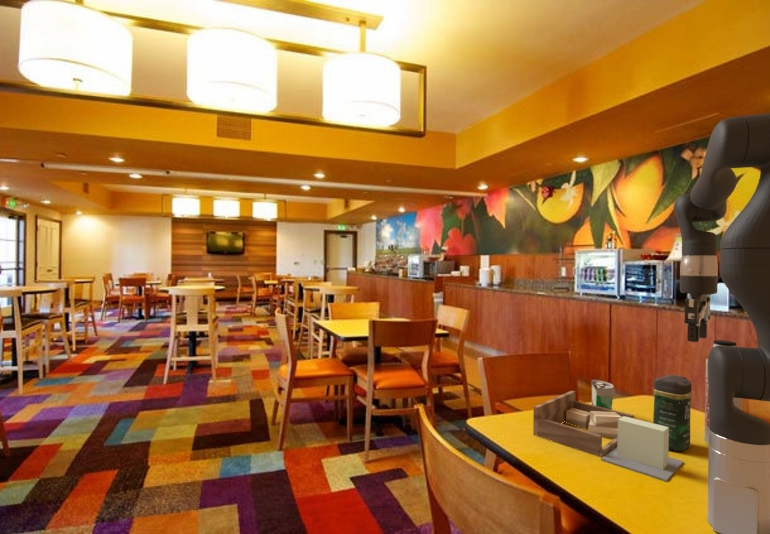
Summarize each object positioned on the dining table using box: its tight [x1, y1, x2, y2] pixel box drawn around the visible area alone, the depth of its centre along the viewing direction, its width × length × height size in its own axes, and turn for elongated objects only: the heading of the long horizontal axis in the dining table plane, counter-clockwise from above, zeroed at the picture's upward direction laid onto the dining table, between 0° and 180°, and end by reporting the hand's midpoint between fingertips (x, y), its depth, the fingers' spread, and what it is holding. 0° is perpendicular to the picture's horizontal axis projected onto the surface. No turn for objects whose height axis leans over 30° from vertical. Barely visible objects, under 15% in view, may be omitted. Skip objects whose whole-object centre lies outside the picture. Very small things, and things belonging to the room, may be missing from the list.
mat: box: [600, 447, 684, 483], centre depth 106 cm, size 14×14×1 cm
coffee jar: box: [652, 374, 693, 452], centre depth 116 cm, size 10×8×19 cm
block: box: [617, 416, 669, 470], centre depth 106 cm, size 4×10×9 cm, turn 42°
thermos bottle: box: [704, 339, 744, 445], centre depth 117 cm, size 8×8×28 cm
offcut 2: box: [590, 411, 621, 428], centre depth 123 cm, size 4×7×3 cm, turn 85°
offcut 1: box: [565, 408, 590, 430], centre depth 130 cm, size 4×6×4 cm, turn 39°
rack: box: [532, 390, 635, 458], centre depth 123 cm, size 24×19×8 cm
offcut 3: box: [588, 422, 618, 440], centre depth 123 cm, size 5×8×3 cm, turn 54°
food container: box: [591, 379, 616, 410], centre depth 138 cm, size 12×6×10 cm, turn 161°
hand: (697, 339), depth 107 cm, fingers open, 8 cm apart
